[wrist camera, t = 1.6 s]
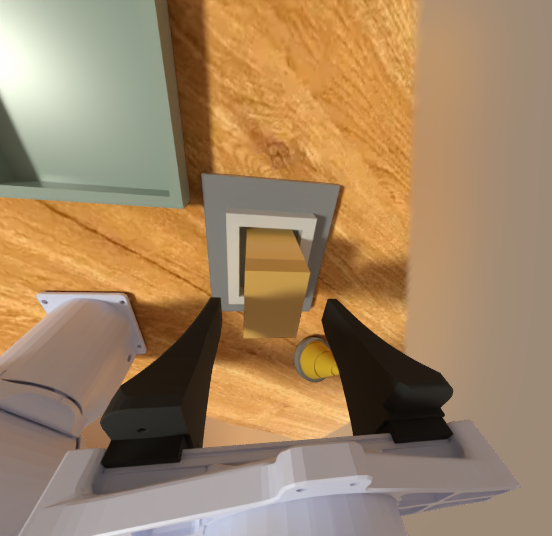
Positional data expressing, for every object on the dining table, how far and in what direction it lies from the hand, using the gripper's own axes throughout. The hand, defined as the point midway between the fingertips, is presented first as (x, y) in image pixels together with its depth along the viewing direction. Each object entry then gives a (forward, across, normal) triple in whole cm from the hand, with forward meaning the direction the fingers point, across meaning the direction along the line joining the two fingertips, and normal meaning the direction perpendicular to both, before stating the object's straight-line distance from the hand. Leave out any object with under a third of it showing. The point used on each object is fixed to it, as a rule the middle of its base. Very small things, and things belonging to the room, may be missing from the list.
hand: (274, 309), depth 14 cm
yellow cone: (+8, -7, +13) cm, 17 cm away
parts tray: (+8, +13, -11) cm, 19 cm away
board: (+8, 0, 0) cm, 8 cm away
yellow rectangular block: (+7, 0, 0) cm, 7 cm away
